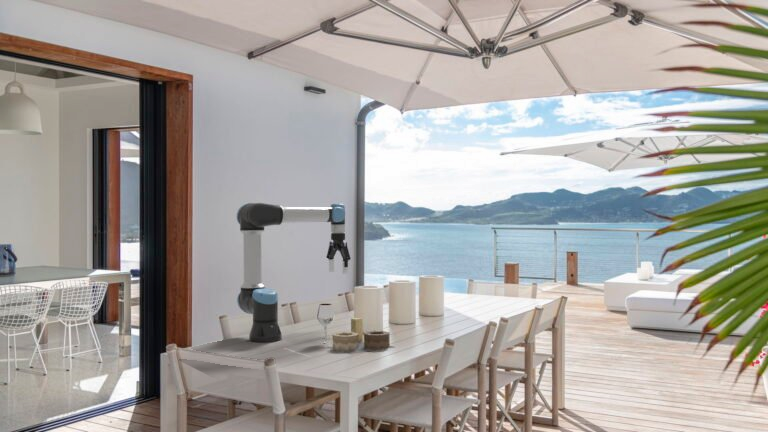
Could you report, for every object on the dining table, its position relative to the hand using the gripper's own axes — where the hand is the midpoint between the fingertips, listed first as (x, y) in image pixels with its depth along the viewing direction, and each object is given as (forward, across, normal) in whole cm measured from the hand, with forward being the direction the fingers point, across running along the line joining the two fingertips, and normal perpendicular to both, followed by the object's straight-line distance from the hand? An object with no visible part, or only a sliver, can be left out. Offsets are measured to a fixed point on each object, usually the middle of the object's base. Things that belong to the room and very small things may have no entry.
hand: (338, 272), depth 355 cm
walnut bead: (+27, -62, +19) cm, 71 cm away
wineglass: (+28, -40, +32) cm, 59 cm away
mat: (+28, -59, +25) cm, 70 cm away
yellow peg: (+28, -46, +19) cm, 57 cm away
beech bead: (+27, -56, +32) cm, 70 cm away
